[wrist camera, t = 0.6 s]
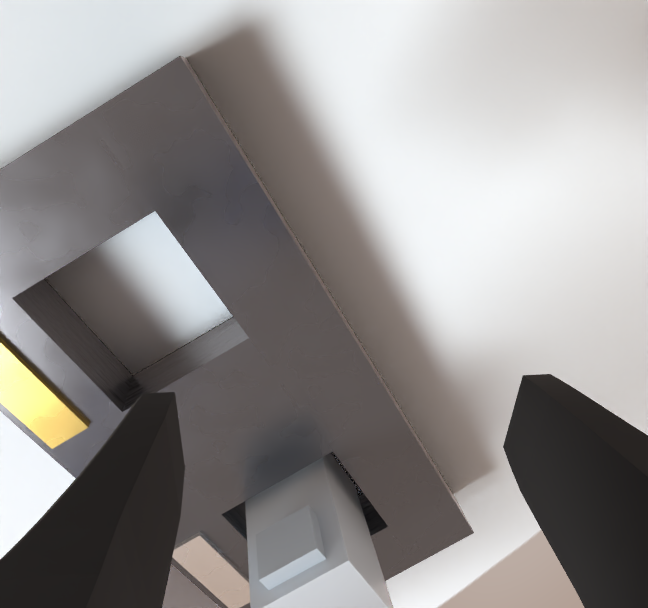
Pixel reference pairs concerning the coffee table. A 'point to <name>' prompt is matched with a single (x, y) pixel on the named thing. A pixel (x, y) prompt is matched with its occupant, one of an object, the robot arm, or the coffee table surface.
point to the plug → (312, 544)
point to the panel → (212, 347)
